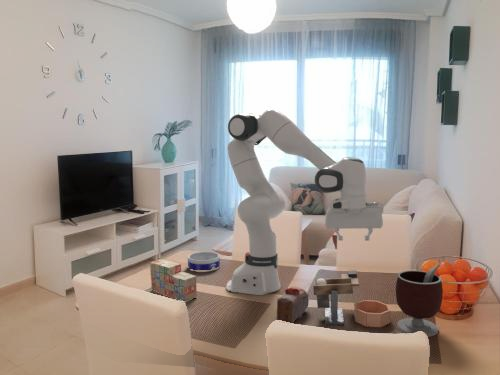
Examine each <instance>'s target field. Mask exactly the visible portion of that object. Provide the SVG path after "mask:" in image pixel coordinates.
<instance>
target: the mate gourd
mask: <svg viewBox="0 0 500 375" xmlns="http://www.w3.org/2000/svg"><path fill="white" fill-rule="evenodd" d="M440 267H441V264H439V263H438V264H436V265H434V266H433V267H431V268H430V269H428V271H424V270H412V269H411V270H403V271H400V272H398V273H397V279H396V284H395V300H396V303H397V306H398V308H400V310H401V312H402V313H404V314H405V315H406V316H408V317H406V318H401V319H399V320H398V322H397V328H398V329H399V331H401V332H402V333H404V332H405V334H407V333H414V332H417V331H423V332H425V333H426V334H427V336H428V337H429V338H430V337H433V336H436V335H437V334H438V333H439V327H438V326H437V325H436V324H435V323H434V322H432V321H429V320H427V319H430V318H433V317H434V316H436V314H438V312H439V311H440V310H441V307H442V302H443V292H444V290H443V283H442V278H441V276H439V275H438V274H436V272H437V270H438V268H440ZM428 337H427V338H428Z"/></svg>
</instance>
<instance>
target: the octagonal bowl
mask: <svg viewBox="0 0 500 375" xmlns="http://www.w3.org/2000/svg"><path fill="white" fill-rule="evenodd" d="M353 306H354V307H353V311H354V312H353V313H354V314H353V316H354V317H353V318H354V322H355V323H357V324H360V325H362V326H365V327H368V326H369V327H368V328H383V327H385V326H387V324H388V325H390V324H391V309H390V306H389V304H387V303H383V302H382V301H379V300H370V299H368V300H367V299H362V300H359V301H357V302H354V305H353ZM389 323H390V324H389Z"/></svg>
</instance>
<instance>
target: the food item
mask: <svg viewBox="0 0 500 375" xmlns="http://www.w3.org/2000/svg"><path fill="white" fill-rule="evenodd" d="M276 300H277V301H276V320H282V321H286V322H290V323H294V322H295V321H296V320H297V319H301V318H302V317H303V314H304V313H305V311H306V310H307V309H308V307H309V302H310V300H309V294H308V293H307V291H306V290H304V288H302V287H297V286H296V287H295V286H293V287H291V286H290V287H288V288H286V289H285V290H284V294H282V295H281V296H279V297H278V298H277V299H276Z"/></svg>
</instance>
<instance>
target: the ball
mask: <svg viewBox="0 0 500 375" xmlns="http://www.w3.org/2000/svg"><path fill="white" fill-rule="evenodd" d="M317 279H318V280H317V281H316V285H325V284H327V283H326V281H325V280H324V279H325V278H323V277H321V278H317Z"/></svg>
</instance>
